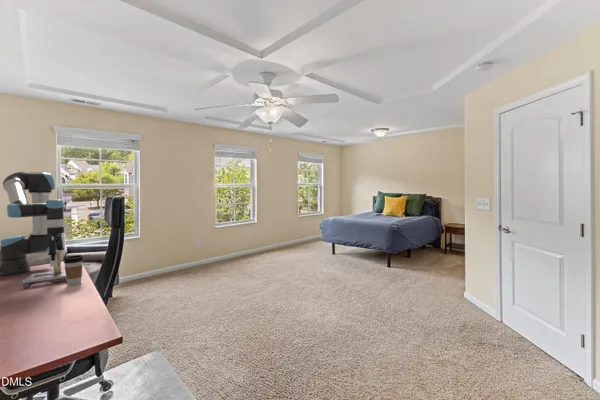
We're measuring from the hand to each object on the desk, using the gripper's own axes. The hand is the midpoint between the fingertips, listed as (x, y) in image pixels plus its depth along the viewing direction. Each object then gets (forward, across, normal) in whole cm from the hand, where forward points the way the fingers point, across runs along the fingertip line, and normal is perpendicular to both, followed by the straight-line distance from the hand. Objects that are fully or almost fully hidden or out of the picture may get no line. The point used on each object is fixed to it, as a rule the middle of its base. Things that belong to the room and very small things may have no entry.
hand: (56, 263), depth 168 cm
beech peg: (+10, 0, 0) cm, 10 cm away
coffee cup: (+10, +14, +10) cm, 20 cm away
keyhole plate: (+10, 0, -3) cm, 10 cm away
